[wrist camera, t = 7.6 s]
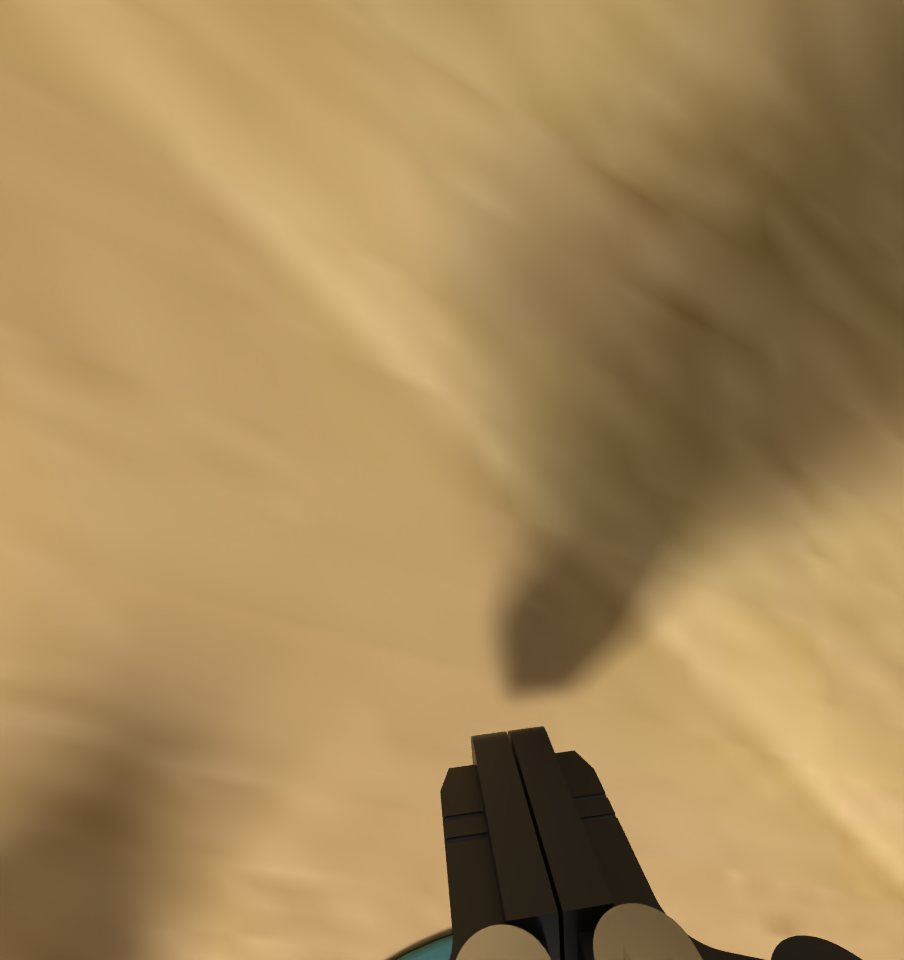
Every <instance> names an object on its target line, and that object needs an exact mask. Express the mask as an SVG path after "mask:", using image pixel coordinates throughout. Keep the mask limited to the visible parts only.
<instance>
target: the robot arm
mask: <svg viewBox="0 0 904 960" xmlns="http://www.w3.org/2000/svg"><path fill="white" fill-rule="evenodd" d="M471 745H472V758H473V765H469V766H462V767H455V768H449V770H448V772H447V775H446V778H445V780H444V783H443V786H442V788H441V791H440V793H441V804H442V816H443V827H444V839H445V850H446V862H447V873H448V884H449V896H450V907H451V919H452V930H453V943H452V951H451V955H450V959H449V960H764V959H759V958H754V957H749V956H744V955H739V954H734V953H729V952H725V951H721V950H717V949H714V948H711V947H709V946H707V945H704V944H702V943H700V942H699V941H697V940H695V939H693V938H692V937H690V936H689V935H687V934H686V932H685V931H684V930H683V929H682V928H681V927H680V926H679V925H678V924H677V923H676V922H675V921H674V920H673V919H672V918H670V917H669V916H667V915H666V914H665V912H664V911H663V910H662V908H661V907H660V905H659V903H658V902H657V900H656V898H655V896H654V894H653V892H652V890H651V888H650V885H649V883H648V881H647V879H646V877H645V875H644V873H643V871H642V869H641V867H640V865H639V862H638V860H637V858H636V856H635V854H634V852H633V850H632V848H631V846H630V844H629V841H628V839H627V837H626V835H625V833H624V831H623V829H622V827H621V825H620V823H619V820H618V818H616V816H615V812H614V810H613V808H612V806H611V804H610V802H609V799H608V797H607V798H606V795H605V791H604V789H603V787H602V785H601V783H600V781H599V779H598V776H597V774H596V772H595V770H594V769H593V768H592V767H591V766H590V765H589V764H588V763H587V762H586V761H585V760H584V759H583V758H582V757H581V756H580V755H579V754H577V753H576V752H575V751H568V752H561V753H555V752H554V750H553V747H552V745H551V742H550V740H549V737H548V735H547V732H546V730H545V728H544V727H543V726H541V727H534V728H526V729H519V730H512V731H508V735H507V732H506V731H505V732H498V733H491V734H483V735H476V736H471ZM771 960H862V959H860V958H859V957H857V956H856V955H854V954H852V953H851V952H849V951H847V950H846V949H844V948H842V947H840V946H838V945H836V944H834V943H832V942H829V941H827V940H824V939H821V938H817V937H812V936H794V937H790V938H787V939H785V940H783V941H782V942H780V943H779V944H778V945H777V946H776V948H775V950H774V952H773V954H772V958H771Z"/></svg>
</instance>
